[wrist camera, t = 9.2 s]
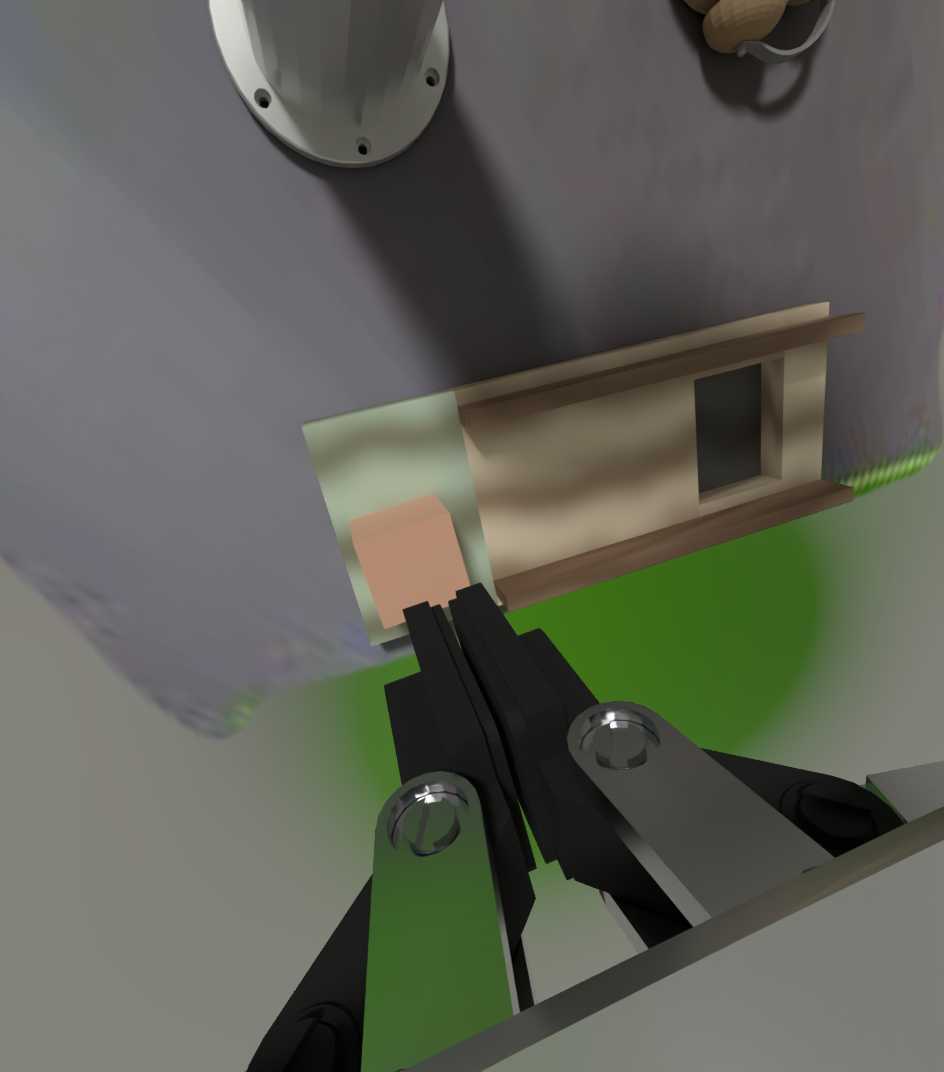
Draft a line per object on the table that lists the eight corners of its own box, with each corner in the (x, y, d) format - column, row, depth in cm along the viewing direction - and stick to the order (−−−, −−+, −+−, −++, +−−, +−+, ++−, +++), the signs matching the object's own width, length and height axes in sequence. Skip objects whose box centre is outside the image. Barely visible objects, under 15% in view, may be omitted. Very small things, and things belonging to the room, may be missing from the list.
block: (349, 520, 35) (353, 544, 31) (433, 493, 36) (449, 512, 32) (377, 596, 37) (384, 629, 33) (455, 568, 38) (473, 597, 34)
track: (303, 422, 35) (299, 433, 30) (801, 305, 42) (866, 297, 37) (369, 630, 41) (375, 668, 36) (795, 496, 48) (851, 512, 43)
